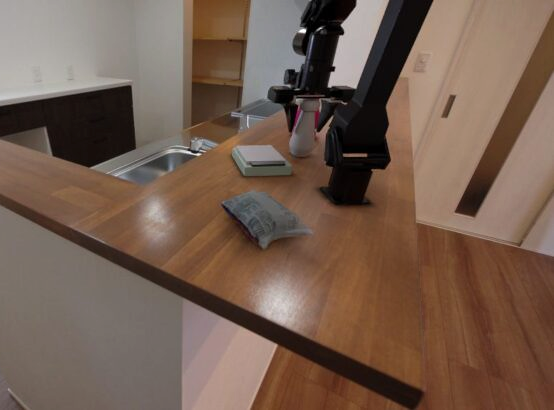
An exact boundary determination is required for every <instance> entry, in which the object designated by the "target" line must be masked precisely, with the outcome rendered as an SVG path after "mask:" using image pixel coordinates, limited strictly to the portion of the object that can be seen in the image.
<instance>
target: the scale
mask: <svg viewBox="0 0 554 410" xmlns="http://www.w3.org/2000/svg"><path fill="white" fill-rule="evenodd" d="M231 152H232V153H231V157H232V158H233V160H234V162H235V163H236V165H237V166H238V168H239V170H240V171H241V174H242V175H243V176H244V177H266V176H270V177H272V176H273V177H274V176H291V175H292V171H293V165H292V164H291V163H290V162H289V161H288V160H287V159H286V158H285V157H284V156H283V155H282V154H281V153H280V152H279V151H278V150H277V149H276V148H275V147H274V146H273V145H272V144H260V145H259V144H257V145H256V144H255V145H254V144H253V145H235V147H232V151H231Z"/></svg>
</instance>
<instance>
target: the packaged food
mask: <svg viewBox="0 0 554 410" xmlns="http://www.w3.org/2000/svg"><path fill="white" fill-rule="evenodd" d="M220 205H221V207H222V209H223V210H224V211H225V213H226V214H227V216H228V217H229V218H230V219H232V221H233V222H235V223H236V224H237V225H238V226H239V227H240V228H241V230H242V231H243V232H244V233H245V234H246V235H247V236H248V238H249V239H250V240H251V241H252V242H253V243H254V244H255V245H256V246H258V245H259V247H260V248H262V250H266V249H267V248H268V246H269V244H270V243H272V242H274V241H277V240H281V239H285V238H292V237H302V236H306V237H313V236H314V232H313V230H312V229H311V228H310V226H309V224H307V222H303V221H301V219H300V217H299V215H298V214H297V213H295V212H294V211H292V210H291V209H289V208H288V207H287V206H285V205H284V204H283V203H282V202H280V201H279V200H277V199H276V198H274V197H273V195H270V194H269V193H267V191H257V190H256V189H253V190H250V191H246V192H245V193H241V194H238V195H236V196H233V197H231V198H229V199H227V200H223V201H221V202H220Z"/></svg>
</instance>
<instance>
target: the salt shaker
mask: <svg viewBox="0 0 554 410" xmlns="http://www.w3.org/2000/svg"><path fill="white" fill-rule="evenodd" d="M320 107H321V101H320V100H319V101H318V100H316V99H301V100H300V102H299V106H298V108H300V109H301V113H300V116H299V118H298V121H297V124H296V126H294V128H293V130H294V132H293V131H292V133H291V134H292V135H291V137H290V139H289V143H288V146H289V151H290V154H291V155H292V156H294V157H298V158H308V157H309V155H310V154H311V153H312V152H313V150H314V149H315V140H316V136H315V131H316V129H315V111H318V110H319V111H320Z"/></svg>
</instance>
